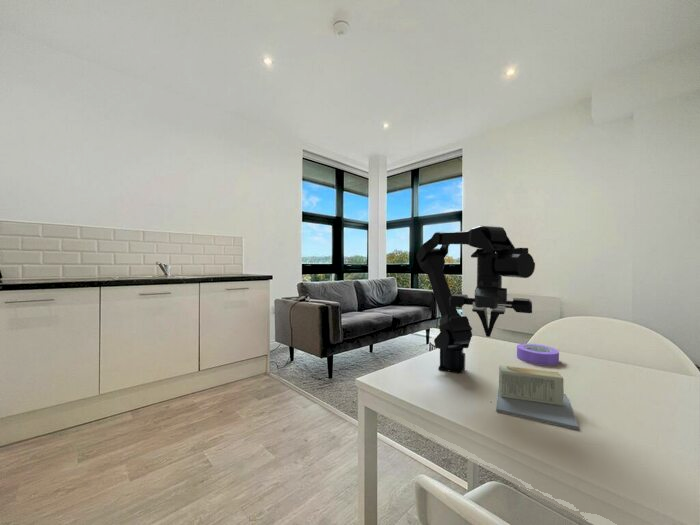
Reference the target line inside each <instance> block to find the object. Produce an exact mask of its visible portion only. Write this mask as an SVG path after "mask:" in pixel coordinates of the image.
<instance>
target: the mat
mask: <svg viewBox="0 0 700 525" xmlns="http://www.w3.org/2000/svg"><path fill="white" fill-rule="evenodd" d="M495 411H496V412H497V413H501V414H506V415H511V416H515V417H519V418H524V419H528V420H532V421H537V422H541V423H546V424H551V425H555V426H559V427H564V428H568V429H573V430H577V431H580V426H579V423H578V421H577V419H576V416H575V414H574V411H573V409H572V406H571V403H570V401H569V399H568V396H567V394H566V393H564V396H563V406H560V405H553V404H547V403H540V402H533V401H526V400H519V399H513V398H506V397H501V394H500V391H499V389H498V391H497V399H496V408H495Z"/></svg>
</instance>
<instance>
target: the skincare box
mask: <svg viewBox="0 0 700 525" xmlns="http://www.w3.org/2000/svg"><path fill="white" fill-rule="evenodd" d="M498 370H499V371H498V375H499V376H498V390H499V391H500V394H501V397H506V398H513V399H519V400H526V401H533V402H540V403H547V404H553V405H560V406H563V396H564V394H565V393H564V392H565V389H564V380H565V379H564V377H563V376H562V375H561V374H560V373H559V372H558V371H551V370H541V369H534V368H525V367H519V366H509V365H501V364H500V365H499V366H498Z"/></svg>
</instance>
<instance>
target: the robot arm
mask: <svg viewBox="0 0 700 525" xmlns="http://www.w3.org/2000/svg"><path fill="white" fill-rule="evenodd" d="M438 245H440V247H439V248H438ZM450 245H467V246H470V247H472V248H476V250H475V251H474V252H473V253H472V254H471V255H470V257H471V258H473V259H474V258H476V263H477V264H476V266H477V267H476V287H475V290H474V297H469V296H468V294H460V293H454V294H452V292H451V288H450V287H449V284H448V280H447V278H446V274H445V273H444V268H445V264H446V259H445V257H447V255H448V253H449V246H450ZM415 256H416V260H417V264H418V265H419V268H420V269H421V271H422V272H424V273H425V274H426V275H427V276H428V279H429V283H430V286H431V290H432V293H433V295H434V299H435V302H436V304H437V308H438V310H439V313H440V322H439V327H438V328H439V334H437V336H436V337H435V338H434V341H433V342H434V346H435V348H437V349H439V366H437V367H438V370H441V371H447V372H451V373H457V374H462V372H463V371H464V370H465V368H466V353H465V352H464V349H468V348H469V346H470V342H471V340H472V338H473V331H472V330H473V328H472V326H471V324H470V322H469V321H470V320H469V318H468V316H466V315H464V316H462V315H461V314H460V313H459V312H458V310H457V308H461V307H463V306H464V305H465V306H467V305H468V306H472V310H471V311H472V312H474V313H476V314H477V316H478V317H479V320H480V321H481V324H482V327H483V331H484V333H485V337H486V338H487V337H489V338H490V337H491V335H492V332H493V330H494V327H495V324H496V321H497V320H498V318H499V316H500V315H505V313H506V309H513V311H515V312H516V313H520V314H522V313H523V314H533V302H532V300H531V299H530V298H519V297H513V299H512V300H508V288H506V287H503V286H502V284H503V283H502V282H503V281H502V280H503V279H502V278H503V277H505V278H508V277H509V278H520V279H521V278H522V279H528V278H530V277H531V276H532V275H533V274H534V271H535V269H536V263H535V260H534V258H533V256H532V255H531V254H530V253H529V248H528V247H515V245H514V244H513V243H512V241H511V240H510V238H509V236H508V235H507V232H506V230H505V228H504V227H502V226H491V225H486V226H485V225H480V226H476V227H472V228H471V229H469V230H466V231H465V230H464V231H436V232H434V233H433V235H432V236H431V238H430V239H428V240H427V241H425V242H424V243H423V244H422V245H421V246H420V248H419V249H418V251H417V253H416V255H415ZM488 309H491V311H490V316H489V315H488ZM488 316H489V317H488Z"/></svg>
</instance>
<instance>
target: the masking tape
mask: <svg viewBox="0 0 700 525" xmlns="http://www.w3.org/2000/svg"><path fill="white" fill-rule="evenodd" d="M516 358H517V359H519V360H521V361H523V362H525V363H529V364H532V365H533V364H534V365H539V366H542V365H543V366H556V365H558V364H560V351H559V350H558V349H556V348H554V347H551V346H548V345H543V344H536V343H519V344H517V345H516Z"/></svg>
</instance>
